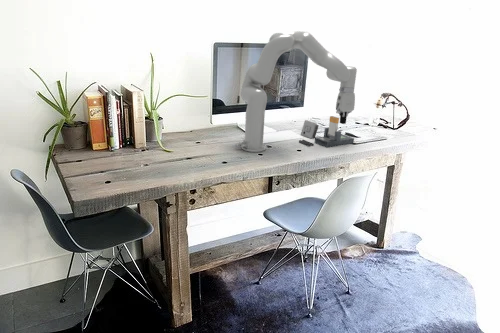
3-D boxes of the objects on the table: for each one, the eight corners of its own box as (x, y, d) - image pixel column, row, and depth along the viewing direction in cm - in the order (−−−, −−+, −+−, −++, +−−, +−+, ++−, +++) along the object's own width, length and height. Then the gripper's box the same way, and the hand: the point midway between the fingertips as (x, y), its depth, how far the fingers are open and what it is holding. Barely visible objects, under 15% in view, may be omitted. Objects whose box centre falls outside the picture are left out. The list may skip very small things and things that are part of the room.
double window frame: (326, 147, 206) (328, 133, 203) (314, 142, 214) (315, 129, 211) (353, 143, 216) (355, 129, 213) (340, 139, 224) (342, 125, 221)
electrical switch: (300, 135, 228) (302, 119, 226) (306, 135, 231) (309, 119, 229) (311, 139, 221) (313, 123, 219) (317, 138, 224) (320, 123, 222)
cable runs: (309, 146, 206) (309, 144, 206) (298, 142, 214) (298, 139, 213) (314, 146, 208) (314, 143, 208) (303, 141, 216) (303, 139, 215)
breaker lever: (334, 139, 210) (337, 118, 206) (326, 136, 215) (329, 116, 211) (337, 138, 211) (339, 118, 207) (329, 136, 216) (331, 115, 212)
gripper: (341, 91, 201) (337, 126, 207) (361, 90, 208) (357, 123, 215) (331, 89, 207) (327, 123, 213) (351, 88, 214) (347, 120, 221)
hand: (342, 123), depth 214 cm, fingers closed
